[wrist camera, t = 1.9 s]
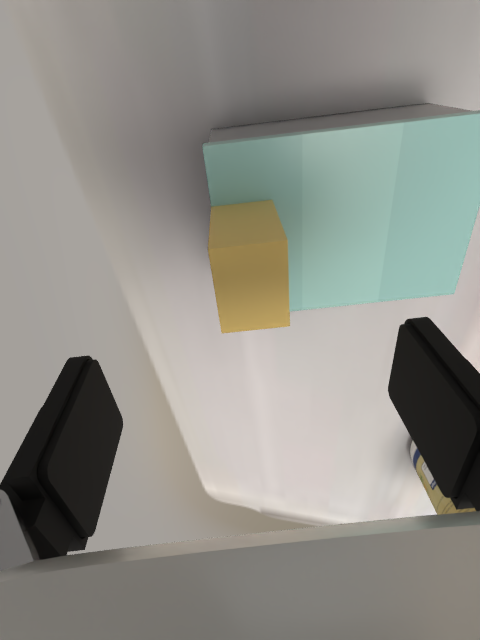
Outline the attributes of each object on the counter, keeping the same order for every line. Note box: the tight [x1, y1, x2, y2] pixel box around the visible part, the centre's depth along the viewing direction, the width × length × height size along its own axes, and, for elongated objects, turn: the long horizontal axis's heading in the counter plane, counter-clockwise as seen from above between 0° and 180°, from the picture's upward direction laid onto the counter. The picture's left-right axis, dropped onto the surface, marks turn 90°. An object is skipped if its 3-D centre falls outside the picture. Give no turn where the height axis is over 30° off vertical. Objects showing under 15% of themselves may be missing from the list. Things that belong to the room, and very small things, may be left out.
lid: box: [202, 110, 480, 333], centre depth 17 cm, size 13×9×7 cm
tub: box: [209, 103, 470, 142], centre depth 22 cm, size 13×9×6 cm
